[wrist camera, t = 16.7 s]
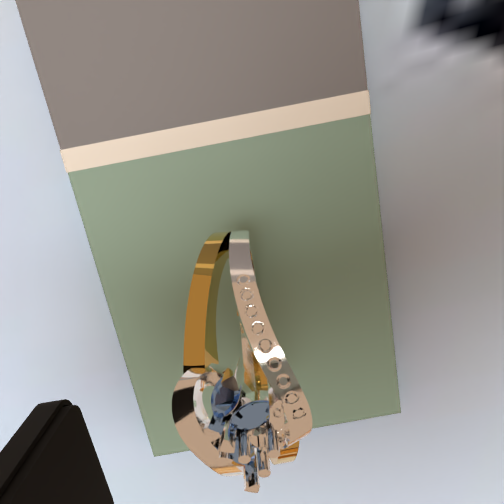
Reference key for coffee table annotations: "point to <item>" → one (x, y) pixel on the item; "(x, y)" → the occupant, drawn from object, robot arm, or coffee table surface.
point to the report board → (226, 183)
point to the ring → (236, 374)
